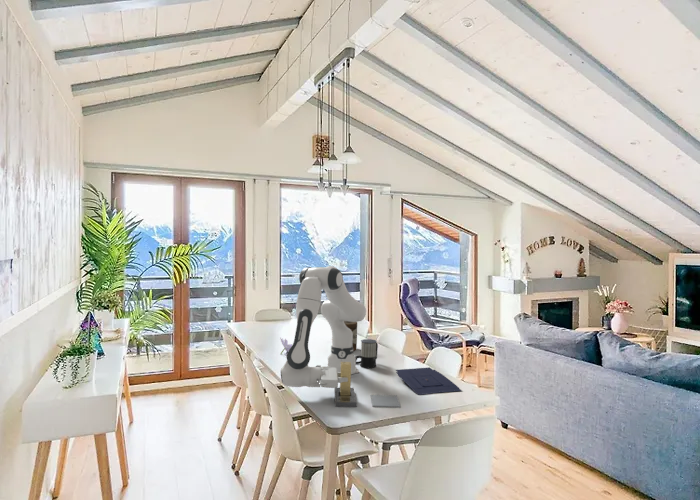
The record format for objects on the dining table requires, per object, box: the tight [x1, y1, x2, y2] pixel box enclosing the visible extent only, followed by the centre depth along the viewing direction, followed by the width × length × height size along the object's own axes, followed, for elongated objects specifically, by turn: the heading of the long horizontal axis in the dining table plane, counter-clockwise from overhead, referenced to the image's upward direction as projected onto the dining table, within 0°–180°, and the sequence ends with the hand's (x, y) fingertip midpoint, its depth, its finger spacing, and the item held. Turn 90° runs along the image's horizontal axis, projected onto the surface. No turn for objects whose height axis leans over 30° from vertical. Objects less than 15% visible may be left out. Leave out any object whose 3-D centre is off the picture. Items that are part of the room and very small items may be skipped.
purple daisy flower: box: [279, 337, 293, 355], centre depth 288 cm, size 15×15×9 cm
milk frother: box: [354, 338, 379, 369], centre depth 268 cm, size 14×16×15 cm
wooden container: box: [344, 321, 358, 352], centre depth 305 cm, size 15×15×22 cm
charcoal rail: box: [334, 387, 358, 408], centre depth 209 cm, size 20×9×2 cm, turn 3°
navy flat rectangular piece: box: [395, 366, 463, 396], centre depth 235 cm, size 24×30×4 cm
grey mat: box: [370, 394, 401, 408], centre depth 207 cm, size 14×12×1 cm
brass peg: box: [339, 362, 352, 396], centre depth 209 cm, size 4×4×16 cm
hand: (347, 377), depth 210 cm, fingers closed on brass peg, 4 cm apart
